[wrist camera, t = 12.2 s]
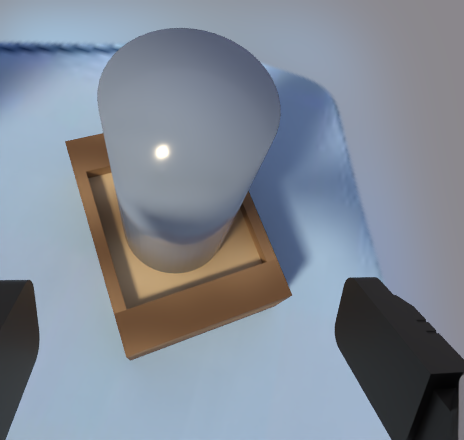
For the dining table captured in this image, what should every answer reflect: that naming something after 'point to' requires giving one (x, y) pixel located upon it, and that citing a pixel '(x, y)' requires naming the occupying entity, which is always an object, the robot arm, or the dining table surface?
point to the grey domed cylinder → (184, 140)
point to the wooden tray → (169, 284)
